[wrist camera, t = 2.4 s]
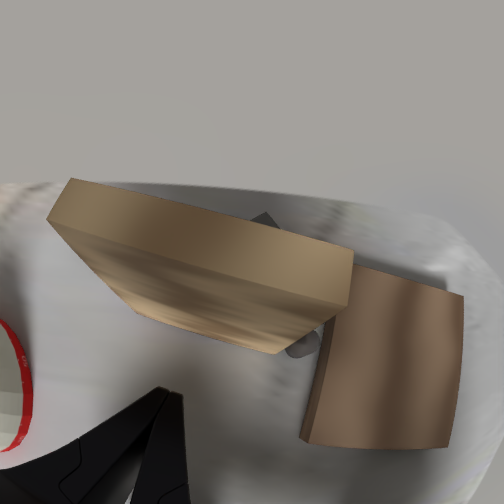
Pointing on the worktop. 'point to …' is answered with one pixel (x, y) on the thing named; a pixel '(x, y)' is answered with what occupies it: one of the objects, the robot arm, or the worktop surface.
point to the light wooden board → (206, 267)
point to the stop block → (265, 220)
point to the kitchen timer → (13, 390)
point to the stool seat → (388, 367)
